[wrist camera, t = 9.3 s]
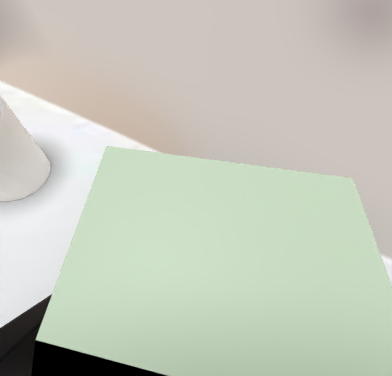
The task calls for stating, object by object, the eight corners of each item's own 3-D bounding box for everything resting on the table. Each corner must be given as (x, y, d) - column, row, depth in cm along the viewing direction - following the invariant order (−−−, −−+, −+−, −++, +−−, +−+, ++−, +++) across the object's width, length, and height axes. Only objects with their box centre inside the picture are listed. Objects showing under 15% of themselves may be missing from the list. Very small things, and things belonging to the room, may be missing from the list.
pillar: (211, 328, 13) (534, 676, 1) (144, 324, 13) (-108, 730, 1) (213, 259, 15) (353, 178, 4) (156, 254, 15) (106, 146, 3)
